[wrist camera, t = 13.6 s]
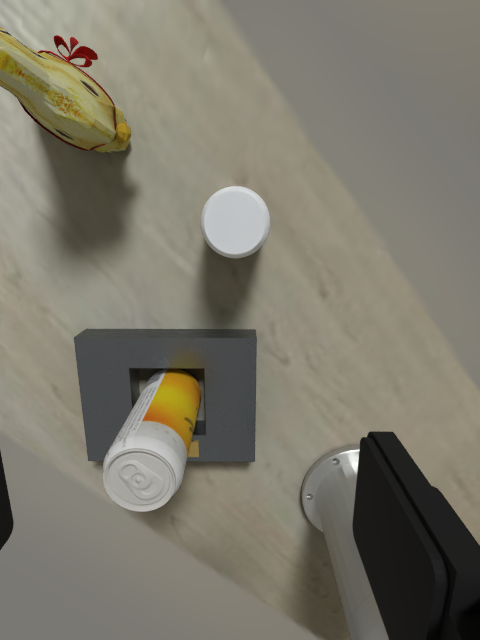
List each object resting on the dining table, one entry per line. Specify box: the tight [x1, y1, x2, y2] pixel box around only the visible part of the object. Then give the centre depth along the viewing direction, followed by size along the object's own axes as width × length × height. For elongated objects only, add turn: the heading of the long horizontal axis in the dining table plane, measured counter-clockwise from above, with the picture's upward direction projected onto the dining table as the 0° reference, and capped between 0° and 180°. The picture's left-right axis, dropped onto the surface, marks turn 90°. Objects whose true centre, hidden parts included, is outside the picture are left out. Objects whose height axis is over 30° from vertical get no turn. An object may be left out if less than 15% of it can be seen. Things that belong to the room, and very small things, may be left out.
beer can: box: [103, 368, 201, 512], centre depth 35 cm, size 6×6×15 cm
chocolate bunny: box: [0, 27, 131, 153], centre depth 28 cm, size 7×11×15 cm, turn 54°
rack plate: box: [74, 329, 257, 462], centre depth 41 cm, size 18×14×3 cm
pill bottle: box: [201, 186, 270, 258], centre depth 33 cm, size 6×6×10 cm
